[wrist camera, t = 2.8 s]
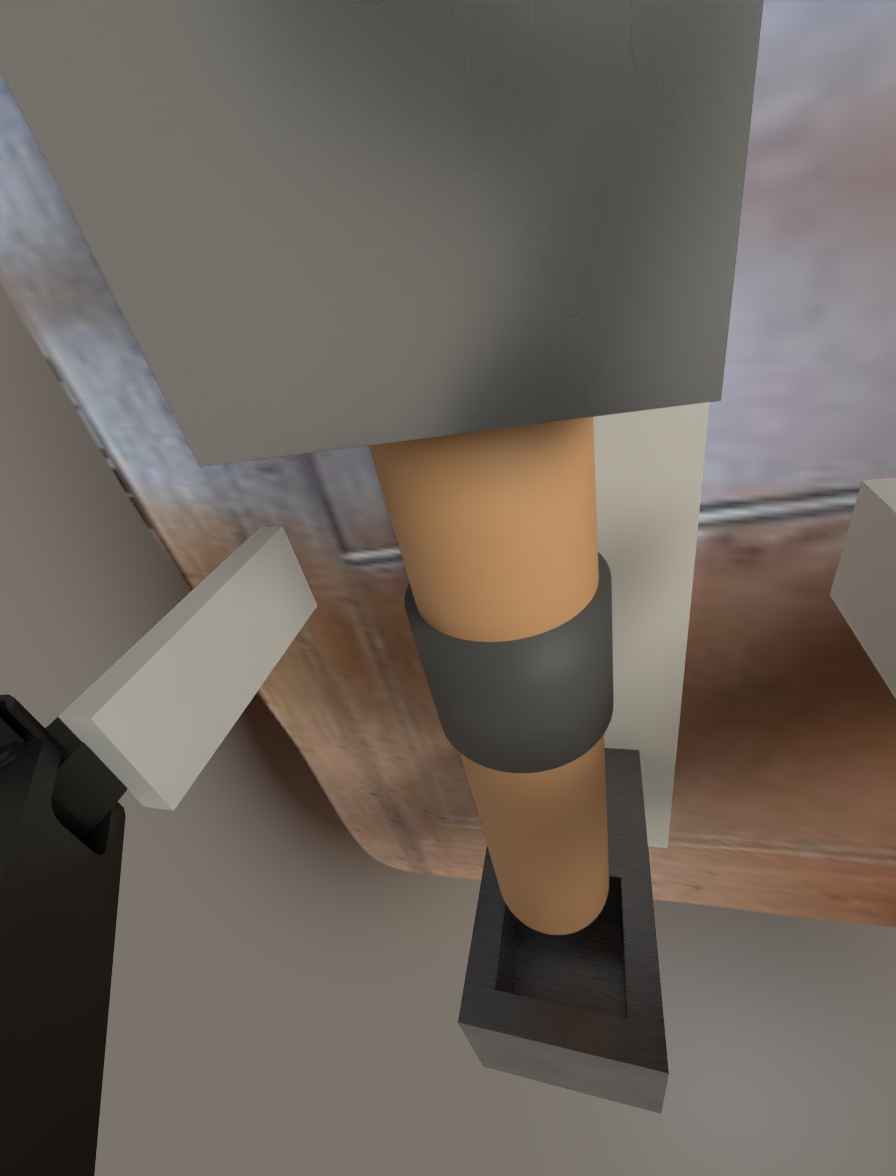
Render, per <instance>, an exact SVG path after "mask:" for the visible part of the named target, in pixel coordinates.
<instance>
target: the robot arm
mask: <svg viewBox="0 0 896 1176" xmlns="http://www.w3.org/2000/svg"><path fill="white" fill-rule="evenodd" d="M830 596H831V598H832V599H833V601H834V603H835V604H836V606H837V607H838V609H839V611H840V612H841V614H842V615H843V617H844V618H845V620H846V622H847V623H848V625H849V626H850V628H851V629H852V631H853V633H854V634H855V636H856V637H857V639H858V640H859V642H860V644H861V645H862V647H863V648H864V650H865V652H866V653H867V655H868V656H869V658H870V659H871V661H872V663H873V664H874V666H875V667H876V669H877V670H878V672H879V674H880V675H881V677H882V678H883V680H884V682H885V683H886V685H887V686H888V688H889V689H890V691H891V693H892V694H893V696H894V697H895V699H896V478H888V479H876V480H863V481H862V484H861V487H860V491H859V494H858V498H857V501H856V504H855V508H854V511H853V515H852V518H851V522H850V525H849V529H848V532H847V536H846V539H845V543H844V546H843V550H842V553H841V557H840V560H839V564H838V567H837V571H836V574H835V578H834V581H833V585H832V588H831V592H830ZM316 607H317V604H316V601H315V599H314V597H313V594H312V592H311V590H310V588H309V585H308V583H307V581H306V578H305V576H304V574H303V571H302V569H301V567H300V565H299V562H298V560H297V558H296V555H295V553H294V551H293V548H292V546H291V544H290V541H289V539H288V537H287V535H286V532H285V530H284V528H283V526H275V527H262V528H258V529H257V530H256V531H255V532H254V533H253V534H252V535H251V536H250V537H249V538H248V539H247V540H246V541H244V542H243V543H242V544H241V545H240V546H239V547H238V548H237V549H236V550H235V551H234V552H233V553H232V554H231V555H230V556H228V557H227V558H226V559H225V560H224V561H223V562H222V563H221V564H220V565H219V566H218V567H217V568H216V569H215V570H214V571H212V572H211V573H210V574H209V575H208V576H207V577H206V578H205V579H204V580H203V581H202V582H201V583H200V584H199V585H198V586H196V587H195V588H194V589H193V590H192V591H191V592H190V593H189V594H188V595H187V596H186V597H185V598H184V599H183V600H182V601H181V602H179V603H178V604H177V605H176V606H175V607H174V608H173V609H172V610H171V611H170V612H169V613H168V614H167V615H166V616H165V617H163V618H162V619H161V620H160V621H159V622H158V623H157V624H156V625H155V626H154V627H153V628H152V629H151V630H150V631H149V632H148V633H146V634H145V635H144V636H143V637H142V638H141V639H140V640H139V641H138V642H137V643H136V644H135V645H134V646H133V647H131V648H130V649H129V650H128V651H127V652H126V653H125V654H124V655H123V656H122V657H121V658H120V659H119V660H118V661H117V662H115V664H113V665H112V666H111V667H110V668H109V669H108V670H107V671H106V672H105V673H104V674H103V675H102V676H101V677H100V678H98V679H97V680H96V681H95V682H94V683H93V684H92V685H91V686H90V687H89V688H88V689H87V690H86V691H85V692H84V693H83V694H81V695H80V696H79V697H78V698H77V699H76V700H75V701H74V702H73V703H72V704H71V705H70V706H69V707H68V708H66V709H65V710H64V711H63V712H62V713H61V714H60V715H59V716H58V717H57V718H56V719H55V720H54V721H53V722H52V723H51V724H50V725H49V726H48V727H46V728H44V727H43V726H42V725H41V724H40V723H39V722H38V721H37V720H36V719H35V718H34V717H33V716H32V715H31V714H30V713H29V712H28V711H27V710H26V709H25V708H24V707H23V706H22V705H21V704H20V703H19V702H18V701H17V700H16V699H15V698H14V697H12V696H10V695H0V1176H94V1172H95V1160H96V1148H97V1137H98V1126H99V1125H98V1124H99V1114H100V1102H101V1091H102V1080H103V1068H104V1057H105V1045H106V1034H107V1022H108V1011H109V1010H108V1009H109V999H110V987H111V976H112V965H113V952H114V942H115V929H116V918H117V907H118V894H119V884H120V873H121V861H122V849H123V838H124V827H125V811H124V808H123V807H122V806H121V805H120V804H119V803H118V802H117V801H118V800H119V799H120V797H121V796H122V795H123V794H124V793H125V792H126V790H128V791H129V792H130V793H131V794H132V795H133V796H134V797H135V798H136V799H137V800H138V801H139V802H140V803H141V804H142V805H143V806H144V807H149V808H156V809H164V810H171V811H174V809H175V808H176V806H177V805H178V804H179V802H180V801H181V799H182V798H183V797H184V795H185V794H186V792H187V791H188V789H189V788H190V787H191V785H192V784H193V782H194V781H195V780H196V778H197V777H198V775H199V774H200V772H201V771H202V770H203V768H204V767H205V765H206V764H207V762H208V761H209V759H210V758H211V757H212V755H213V754H214V752H215V751H216V749H217V748H218V747H219V745H220V744H221V742H222V741H223V740H224V738H225V737H226V735H227V734H228V732H229V731H230V730H231V728H232V726H233V725H234V724H235V723H236V721H237V720H238V718H239V717H240V715H241V714H242V712H243V711H244V710H245V708H246V707H247V705H248V704H249V702H250V701H251V700H252V698H253V697H254V695H255V694H256V693H257V691H258V690H259V688H260V687H261V686H262V684H263V683H264V681H265V680H266V678H267V677H268V676H269V674H270V673H271V671H272V670H273V668H274V667H275V666H276V664H277V663H278V661H279V660H280V658H281V657H282V656H283V654H284V653H285V651H286V650H287V648H288V647H289V646H290V644H291V643H292V641H293V640H294V638H295V637H296V636H297V634H298V633H299V631H300V630H301V629H302V627H303V626H304V624H305V623H306V621H307V620H308V619H309V617H310V616H311V614H312V613H313V611H314V610H315V609H316Z"/></svg>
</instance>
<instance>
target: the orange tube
mask: <svg viewBox="0 0 896 1176" xmlns="http://www.w3.org/2000/svg"><path fill="white" fill-rule="evenodd" d="M369 446H370V450H371V453H372V457H373V460H374V463H375V467H376V470H377V474H378V477H379V480H380V484H381V487H382V491H383V494H384V497H385V501H386V504H387V507H388V511H389V514H390V518H391V521H392V524H393V528H394V531H395V535H396V538H397V541H398V545H399V548H400V552H401V555H402V558H403V562H404V565H405V568H406V572H407V575H408V579H409V582H410V583H409V585H408V588H407V590H406V594H405V609H406V613H407V616H408V619H409V623H410V626H411V629H412V632H413V635H414V639H415V642H416V645H417V648H418V651H419V655H420V658H421V661H422V664H423V667H424V671H425V674H426V677H427V680H428V683H429V687H430V690H431V693H432V696H433V699H434V703H435V706H436V709H437V712H438V715H439V719H440V722H441V725H442V728H443V730H444V732H445V735H446V737H447V738H448V739H449V741H450V742H451V744H452V745H453V746H454V747H455V748H456V749H457V750H458V751H459V752H460V755H461V758H462V762H463V765H464V769H465V772H466V775H467V779H468V782H469V785H470V789H471V792H472V796H473V799H474V802H475V806H476V809H477V813H478V816H479V819H480V823H481V826H482V830H483V833H484V836H485V840H486V843H487V847H488V850H489V853H490V857H491V860H492V863H493V867H494V870H495V874H496V877H497V880H498V884H499V887H500V891H501V894H502V896H503V899H504V901H505V903H506V904H507V906H508V908H509V909H510V910H511V912H512V913H513V914H514V915H515V916H516V917H517V918H518V919H519V920H520V921H521V922H522V923H524V924H525V925H526V926H528V927H530V928H532V929H533V930H536V931H538V932H541V933H545V934H550V935H566V934H571V933H574V932H577V931H579V930H581V929H583V928H585V927H587V926H588V925H589V924H590V923H592V922H593V921H594V920H595V919H596V918H597V916H598V915H599V914H600V912H601V911H602V909H603V907H604V905H605V902H606V899H607V896H608V891H609V861H608V831H607V802H606V773H605V744H604V733H605V731H606V730H607V728H608V726H609V723H610V721H611V718H612V713H613V702H614V699H613V640H612V582H611V572H610V568H609V566H608V564H607V562H606V560H605V559H604V558H603V556H602V555H601V554H600V553H599V552H598V540H597V511H596V482H595V453H594V424H593V417H587V418H579V419H572V420H564V421H556V422H548V423H540V424H532V425H524V426H517V427H509V428H501V429H493V430H485V431H477V432H469V433H461V434H454V435H446V436H438V437H430V438H422V439H414V440H406V441H398V442H391V443H383V444H375V445H369Z"/></svg>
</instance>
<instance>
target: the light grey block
mask: <svg viewBox="0 0 896 1176" xmlns="http://www.w3.org/2000/svg"><path fill="white" fill-rule="evenodd" d="M762 10H763V0H0V71H1V73H2V75H3V77H4V79H5V81H6V83H7V85H8V87H9V89H10V91H11V93H12V95H13V97H14V99H15V101H16V103H17V105H18V107H19V109H20V111H21V112H22V114H23V116H24V118H25V120H26V122H27V124H28V126H29V128H30V130H31V132H32V134H33V136H34V138H35V140H36V142H37V144H38V146H39V148H40V150H41V152H42V154H43V156H44V158H45V160H46V162H47V164H48V166H49V168H50V170H51V172H52V174H53V176H54V178H55V180H56V182H57V184H58V186H59V188H60V190H61V192H62V194H63V196H64V198H65V200H66V202H67V204H68V206H69V208H70V210H71V212H72V214H73V216H74V218H75V220H76V222H77V224H78V226H79V228H80V230H81V232H82V234H83V236H84V238H85V240H86V242H87V244H88V246H89V248H90V250H91V252H92V254H93V256H94V257H95V259H96V261H97V263H98V265H99V267H100V269H101V271H102V273H103V275H104V277H105V279H106V281H107V283H108V285H109V287H110V289H111V291H112V293H113V295H114V297H115V299H116V301H117V303H118V305H119V307H120V309H121V311H122V313H123V315H124V317H125V319H126V321H127V323H128V325H129V327H130V329H131V331H132V333H133V335H134V337H135V339H136V341H137V343H138V345H139V347H140V349H141V351H142V353H143V355H144V357H145V359H146V361H147V363H148V365H149V367H150V369H151V371H152V373H153V375H154V377H155V379H156V381H157V383H158V385H159V387H160V389H161V391H162V393H163V395H164V397H165V399H166V400H167V402H168V404H169V406H170V408H171V410H172V412H173V414H174V416H175V418H176V420H177V422H178V424H179V426H180V428H181V430H182V432H183V434H184V436H185V438H186V440H187V442H188V444H189V446H190V448H191V450H192V452H193V454H194V456H195V458H196V460H197V462H198V464H199V466H200V467H202V466H210V465H218V464H225V463H233V462H241V461H249V460H257V459H265V458H273V457H280V456H288V455H296V454H304V453H312V452H320V451H328V450H336V449H343V448H351V447H359V446H367V445H375V444H383V443H391V442H398V441H406V440H414V439H422V438H430V437H438V436H446V435H454V434H461V433H469V432H477V431H485V430H493V429H501V428H509V427H517V426H524V425H532V424H540V423H548V422H556V421H564V420H572V419H579V418H587V417H595V416H603V415H611V414H619V413H627V412H635V411H642V410H650V409H658V408H666V407H674V406H682V405H690V404H697V403H705V402H713V401H721V394H722V385H723V375H724V366H725V357H726V347H727V338H728V329H729V319H730V310H731V300H732V291H733V282H734V272H735V263H736V254H737V244H738V235H739V225H740V216H741V207H742V197H743V188H744V179H745V169H746V160H747V150H748V141H749V132H750V122H751V113H752V104H753V94H754V85H755V75H756V66H757V57H758V47H759V38H760V29H761V19H762Z"/></svg>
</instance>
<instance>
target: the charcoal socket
mask: <svg viewBox="0 0 896 1176" xmlns="http://www.w3.org/2000/svg"><path fill="white" fill-rule="evenodd" d="M605 773H606V802H607V831H608V861H609V891H608V896H607V899H606V902H605V905H604V907H603V909H602V911H601V912H600V914H599V915H598V916H597V918H596V919H595V920H594V921H593V922H592V923H590V924H589V925H588V926H587V927H585V928H583V929H581V930H579V931H577V932H574V933H571V934H566V935H550V934H545V933H541V932H538V931H536V930H533V929H532V928H530V927H528V926H526V925H525V924H524V923H522V922H521V921H520V920H519V919H518V918H517V917H516V916H515V915H514V914H513V913H512V912H511V910H510V909H509V908H508V906H507V904H506V903H505V901H504V899H503V896H502V894H501V891H500V887H499V884H498V880H497V877H496V874H495V870H494V867H493V863H492V860H491V857H490V853H489V850H488V847H487V849H486V855H485V861H484V867H483V874H482V880H481V886H480V892H479V899H478V904H477V910H476V916H475V923H474V928H473V934H472V941H471V946H470V953H469V959H468V965H467V971H466V977H465V983H464V989H463V995H462V1001H461V1008H460V1013H459V1019H458V1023H459V1025H460V1027H461V1028H462V1030H463V1032H464V1034H465V1035H466V1037H467V1039H468V1040H469V1042H470V1044H471V1046H472V1047H473V1049H474V1051H475V1052H476V1054H477V1056H478V1058H479V1059H480V1061H481V1063H482V1065H483V1066H484V1067H488V1068H492V1069H495V1070H500V1071H503V1072H507V1073H511V1074H514V1075H518V1076H522V1077H525V1078H529V1079H533V1080H537V1081H540V1082H544V1083H548V1084H552V1085H556V1086H560V1087H563V1088H567V1089H571V1090H574V1091H578V1092H582V1093H585V1094H589V1095H593V1096H597V1097H600V1098H605V1099H608V1100H612V1101H615V1102H619V1103H623V1104H627V1105H631V1106H634V1107H638V1108H642V1109H645V1110H649V1111H653V1112H657V1113H661V1111H662V1106H663V1100H664V1095H665V1090H666V1085H667V1079H668V1074H669V1073H668V1062H667V1050H666V1040H665V1028H664V1017H663V1006H662V996H661V985H660V975H659V974H660V973H659V962H658V952H657V940H656V929H655V918H654V907H653V896H652V885H651V874H650V863H649V852H648V841H647V830H646V819H645V808H644V797H643V786H642V775H641V764H640V753H639V750H629V749H614V748H605Z"/></svg>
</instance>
